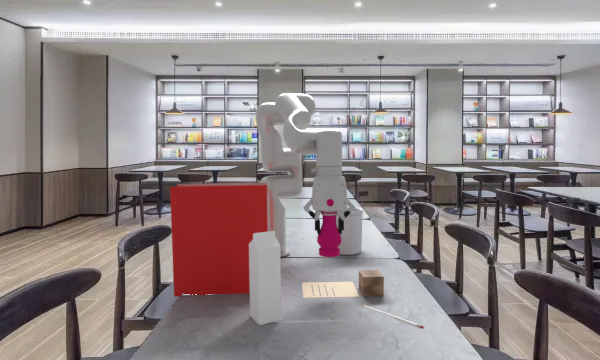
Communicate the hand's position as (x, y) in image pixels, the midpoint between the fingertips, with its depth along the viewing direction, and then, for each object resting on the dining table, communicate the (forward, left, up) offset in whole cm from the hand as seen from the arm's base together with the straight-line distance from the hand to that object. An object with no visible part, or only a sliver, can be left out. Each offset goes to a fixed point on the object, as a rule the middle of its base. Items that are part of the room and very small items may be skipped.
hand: (329, 232), depth 111 cm
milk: (-18, -18, -18) cm, 31 cm away
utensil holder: (+11, +43, -18) cm, 48 cm away
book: (-32, +2, -18) cm, 37 cm away
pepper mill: (0, 0, -7) cm, 7 cm away
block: (+12, -3, -18) cm, 22 cm away
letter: (0, 0, -18) cm, 18 cm away
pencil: (+13, -18, -18) cm, 29 cm away
